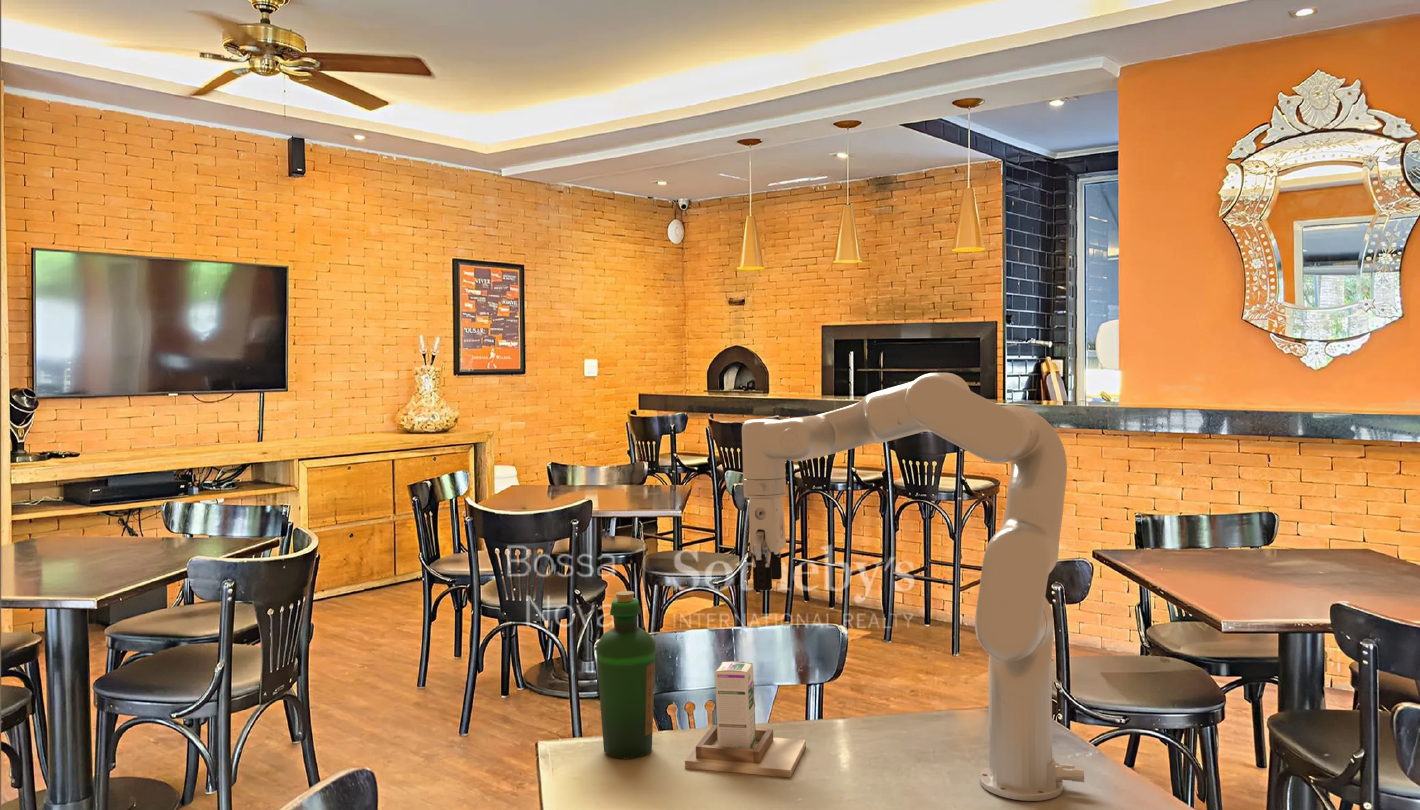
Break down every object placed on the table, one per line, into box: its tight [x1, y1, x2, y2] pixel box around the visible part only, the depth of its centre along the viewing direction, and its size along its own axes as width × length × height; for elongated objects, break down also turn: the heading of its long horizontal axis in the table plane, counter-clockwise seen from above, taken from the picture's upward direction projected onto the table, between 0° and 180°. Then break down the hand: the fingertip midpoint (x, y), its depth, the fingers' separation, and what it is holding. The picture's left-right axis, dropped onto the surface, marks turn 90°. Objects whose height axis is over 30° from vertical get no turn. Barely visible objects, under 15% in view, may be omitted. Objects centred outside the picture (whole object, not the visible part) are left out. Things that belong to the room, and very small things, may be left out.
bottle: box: [595, 590, 656, 760], centre depth 174 cm, size 11×11×28 cm
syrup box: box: [714, 661, 756, 749], centre depth 171 cm, size 6×6×14 cm
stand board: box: [684, 724, 807, 778], centre depth 171 cm, size 18×14×3 cm
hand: (767, 584), depth 177 cm, fingers open, 9 cm apart
